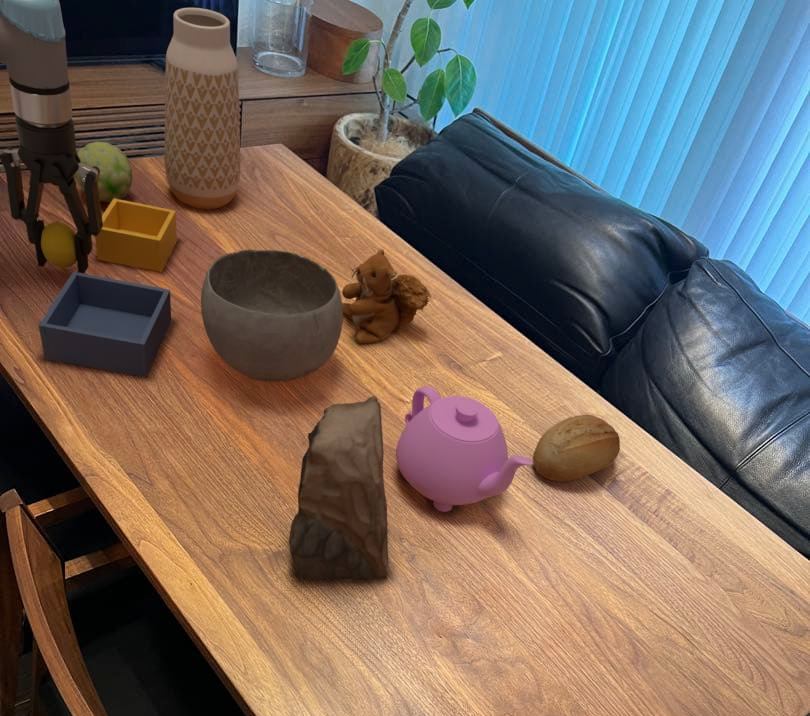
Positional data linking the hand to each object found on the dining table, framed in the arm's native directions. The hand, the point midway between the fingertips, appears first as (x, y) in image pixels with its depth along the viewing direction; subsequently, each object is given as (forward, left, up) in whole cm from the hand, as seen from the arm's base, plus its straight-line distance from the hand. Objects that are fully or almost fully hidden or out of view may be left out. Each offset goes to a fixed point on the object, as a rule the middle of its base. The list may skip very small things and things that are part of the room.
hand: (63, 266), depth 129 cm
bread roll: (+83, -24, -2) cm, 87 cm away
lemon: (0, 0, -1) cm, 1 cm away
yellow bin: (+8, +12, -2) cm, 15 cm away
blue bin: (+11, -14, -2) cm, 18 cm away
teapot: (+64, -33, -2) cm, 72 cm away
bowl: (+35, -13, -2) cm, 38 cm away
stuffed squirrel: (+51, +3, -2) cm, 52 cm away
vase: (+14, +35, -2) cm, 38 cm away
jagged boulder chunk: (+50, -49, -2) cm, 70 cm away
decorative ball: (-2, +27, -2) cm, 27 cm away
